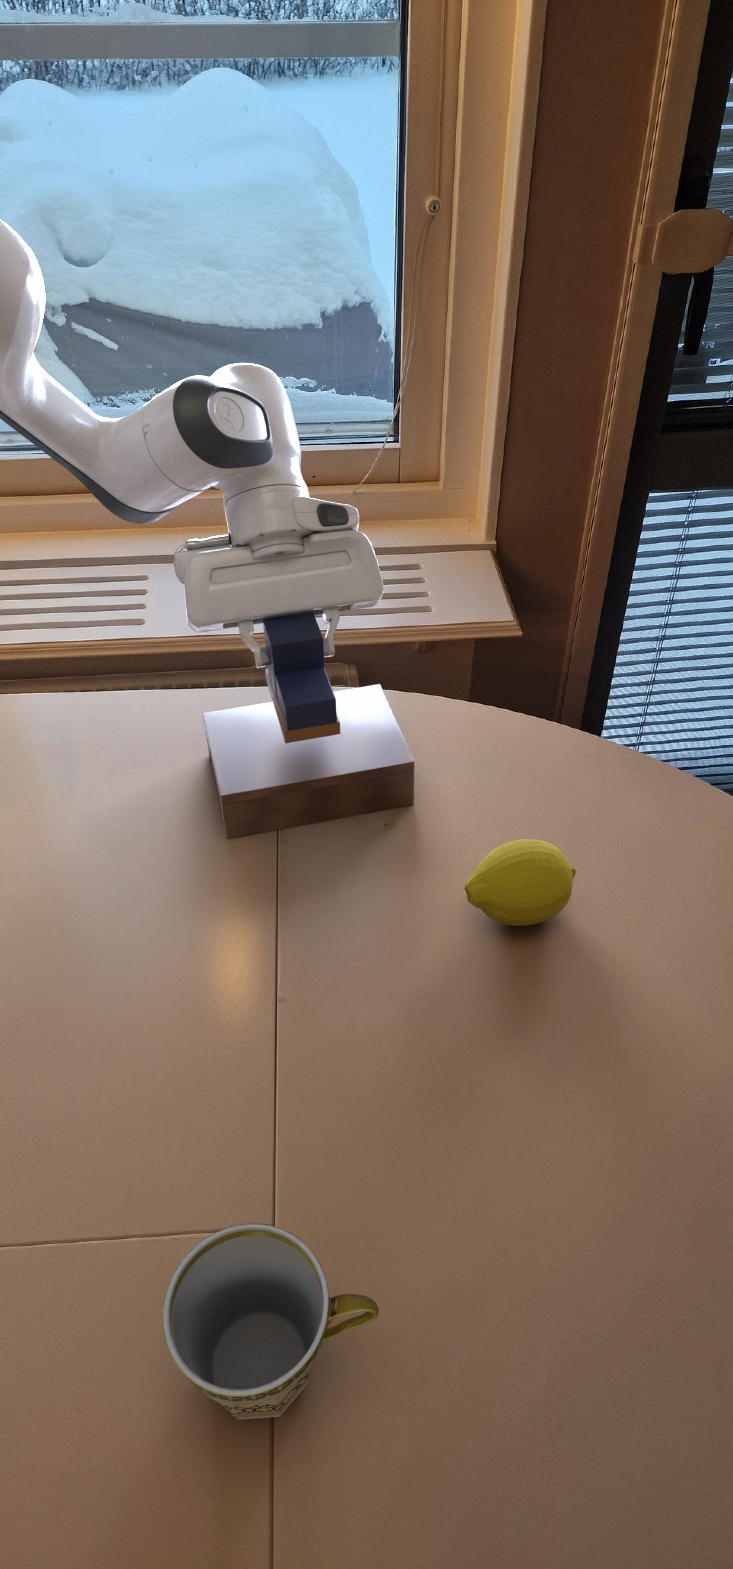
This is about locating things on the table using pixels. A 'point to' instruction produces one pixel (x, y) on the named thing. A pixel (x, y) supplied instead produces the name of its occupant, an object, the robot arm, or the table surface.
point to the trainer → (299, 678)
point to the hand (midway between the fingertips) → (296, 661)
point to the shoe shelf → (308, 765)
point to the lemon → (521, 882)
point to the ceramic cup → (253, 1317)
